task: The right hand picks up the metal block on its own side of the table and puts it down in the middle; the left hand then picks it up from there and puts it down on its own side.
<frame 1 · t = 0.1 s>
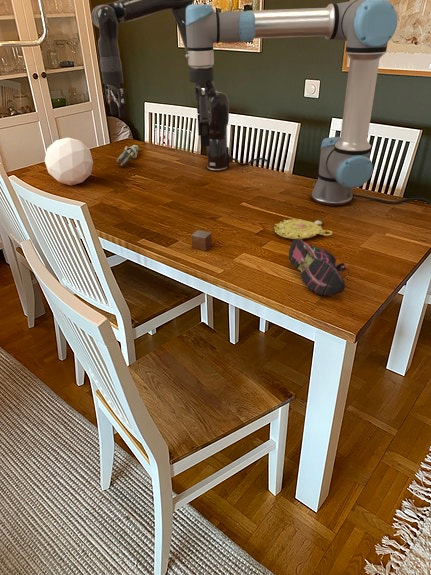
left hand: (118, 115, 171), 29 cm above the table, tool pointing down, fingers open, 8 cm apart
right hand: (203, 140, 141), 28 cm above the table, tool pointing down, fingers open, 13 cm apart
athletic shoe: (320, 279, 121), on the table
sphere: (73, 183, 194), on the table
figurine: (129, 159, 223), on the table
block: (202, 246, 140), on the table
decorative object: (301, 233, 146), on the table
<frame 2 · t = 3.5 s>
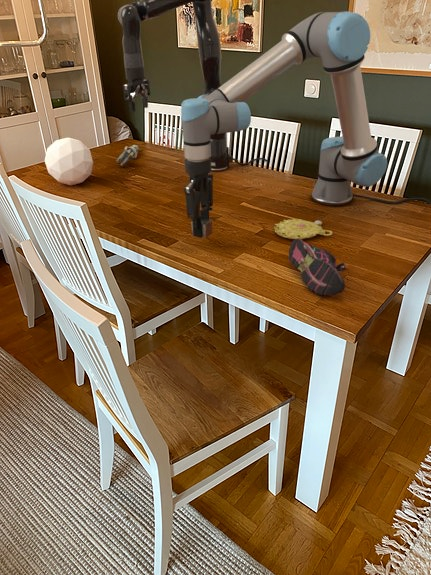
left hand: (139, 109, 181), 29 cm above the table, tool pointing down, fingers open, 8 cm apart
right hand: (201, 233, 137), 5 cm above the table, tool pointing down, fingers closed on block, 4 cm apart
block: (202, 234, 137), point 4 cm above the table, touching right hand
everything else where it was.
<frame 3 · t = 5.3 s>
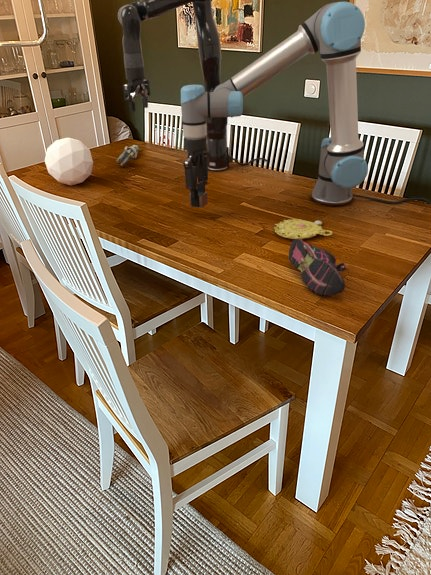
left hand: (139, 109, 181), 29 cm above the table, tool pointing down, fingers open, 8 cm apart
right hand: (198, 204, 157), 5 cm above the table, tool pointing down, fingers closed on block, 4 cm apart
block: (198, 204, 157), point 4 cm above the table, touching right hand
everything else where it was.
when the right hand's fingers open (1 cm above the table, at t = 7.1 s): block stays where it is, on the table.
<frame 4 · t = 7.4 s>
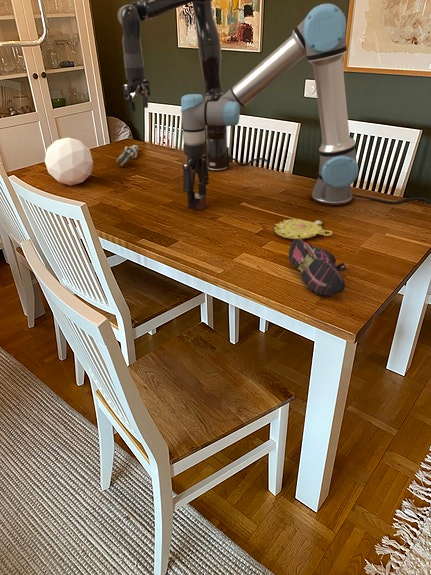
left hand: (139, 109, 181), 29 cm above the table, tool pointing down, fingers open, 8 cm apart
right hand: (197, 204, 167), 1 cm above the table, tool pointing down, fingers open, 7 cm apart
block: (198, 207, 167), on the table
everything else where it was.
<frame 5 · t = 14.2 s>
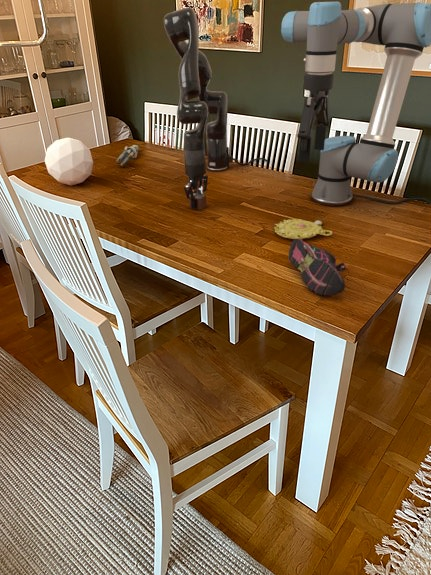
left hand: (197, 206, 167), 0 cm above the table, tool pointing down, fingers closed on block, 4 cm apart
right hand: (311, 155, 125), 28 cm above the table, tool pointing down, fingers open, 13 cm apart
block: (198, 207, 167), on the table, touching left hand
everything else where it was.
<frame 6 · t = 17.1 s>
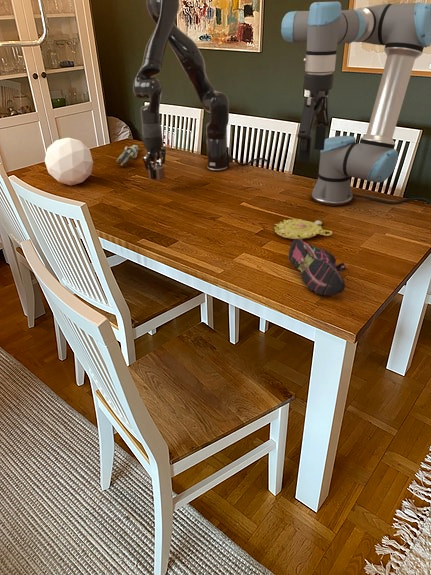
left hand: (156, 177, 181), 6 cm above the table, tool pointing down, fingers closed on block, 4 cm apart
right hand: (311, 155, 125), 28 cm above the table, tool pointing down, fingers open, 13 cm apart
block: (157, 178, 181), point 5 cm above the table, touching left hand
everything else where it was.
when the left hand's fingers open (1 cm above the table, at t = 20.4 s): block stays where it is, on the table.
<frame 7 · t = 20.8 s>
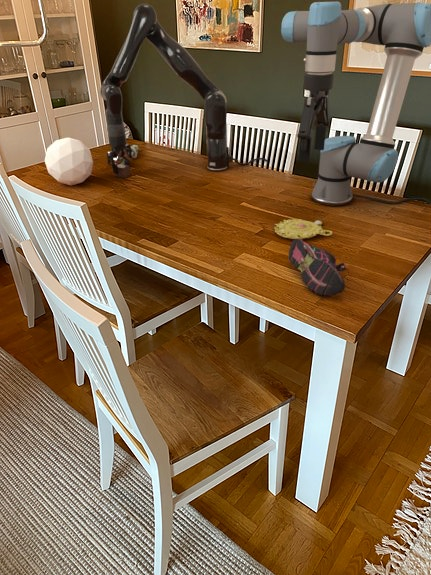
left hand: (122, 171, 200), 2 cm above the table, tool pointing down, fingers open, 7 cm apart
right hand: (311, 155, 125), 28 cm above the table, tool pointing down, fingers open, 13 cm apart
block: (123, 175, 201), on the table
everything else where it was.
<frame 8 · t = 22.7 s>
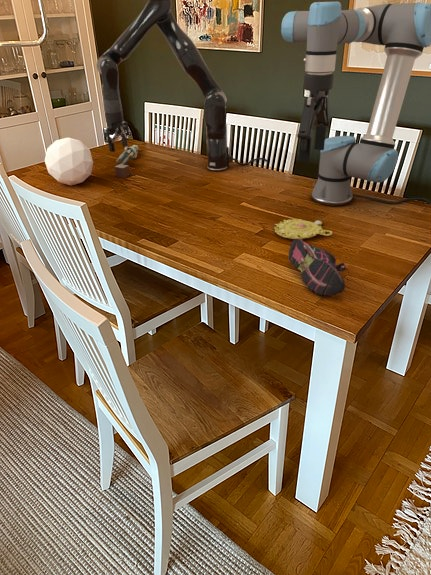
left hand: (118, 149, 195), 12 cm above the table, tool pointing down, fingers open, 8 cm apart
right hand: (311, 155, 125), 28 cm above the table, tool pointing down, fingers open, 13 cm apart
nothing on the table moved.
at the end: block inside the target area (0.2 cm from its centre), on the table; block tilted 0°; the two hands never held the block at the same time; the left hand is holding nothing; the right hand is holding nothing; block at rest at the end (0.0 cm/s) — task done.
